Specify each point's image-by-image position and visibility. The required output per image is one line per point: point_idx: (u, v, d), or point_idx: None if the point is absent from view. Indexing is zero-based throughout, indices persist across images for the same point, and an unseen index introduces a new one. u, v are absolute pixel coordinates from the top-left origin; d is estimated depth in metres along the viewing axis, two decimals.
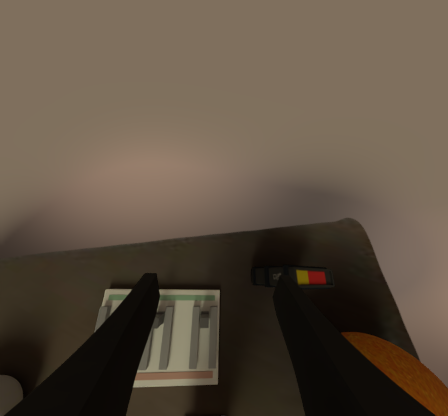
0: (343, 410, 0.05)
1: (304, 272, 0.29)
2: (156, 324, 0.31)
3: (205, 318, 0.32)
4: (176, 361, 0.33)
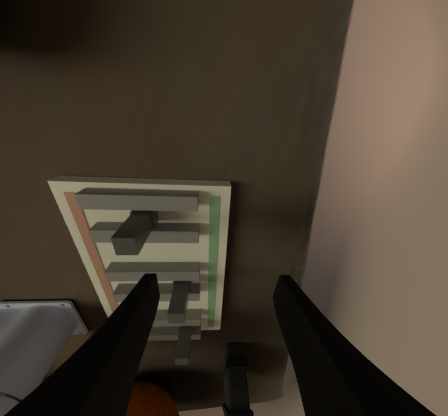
0: (343, 410, 0.05)
1: None
2: (174, 321, 0.17)
3: (187, 361, 0.21)
4: None
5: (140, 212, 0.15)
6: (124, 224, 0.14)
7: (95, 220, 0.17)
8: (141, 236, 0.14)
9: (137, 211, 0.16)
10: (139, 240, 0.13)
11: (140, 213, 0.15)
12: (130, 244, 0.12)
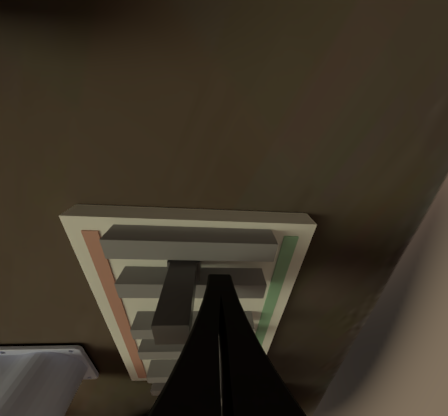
0: (230, 415, 0.05)
1: None
2: None
3: None
4: None
5: (181, 262, 0.11)
6: (165, 289, 0.09)
7: (122, 264, 0.12)
8: (192, 310, 0.09)
9: None
10: (191, 319, 0.08)
11: (182, 264, 0.11)
12: (180, 332, 0.08)
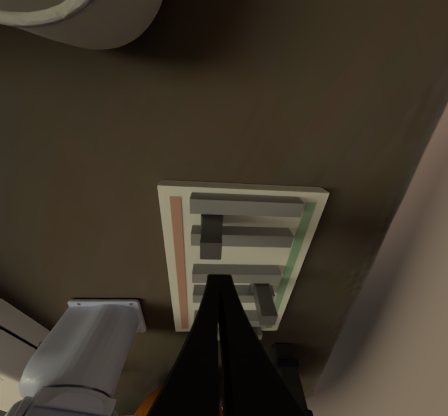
0: (231, 415, 0.05)
1: None
2: (265, 323, 0.18)
3: None
4: None
5: (210, 216, 0.16)
6: (204, 228, 0.14)
7: (191, 223, 0.17)
8: None
9: (207, 215, 0.16)
10: None
11: (211, 217, 0.15)
12: (216, 249, 0.13)
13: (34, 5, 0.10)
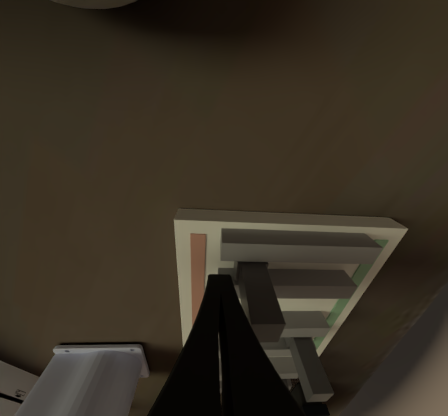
0: (230, 415, 0.05)
1: None
2: (315, 400, 0.13)
3: None
4: None
5: (251, 263, 0.11)
6: (249, 290, 0.09)
7: (216, 266, 0.13)
8: None
9: None
10: None
11: (253, 265, 0.11)
12: (275, 331, 0.08)
13: None
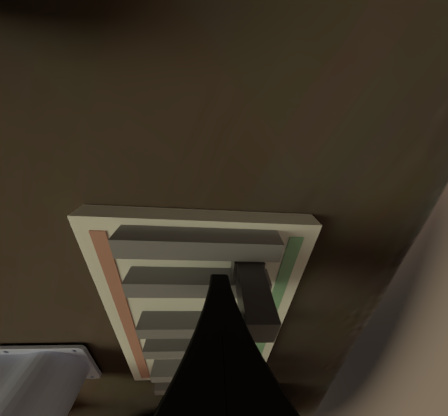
0: None
1: None
2: None
3: None
4: None
5: (248, 263, 0.11)
6: (245, 290, 0.09)
7: (128, 264, 0.12)
8: None
9: None
10: None
11: (250, 265, 0.11)
12: (271, 331, 0.08)
13: None
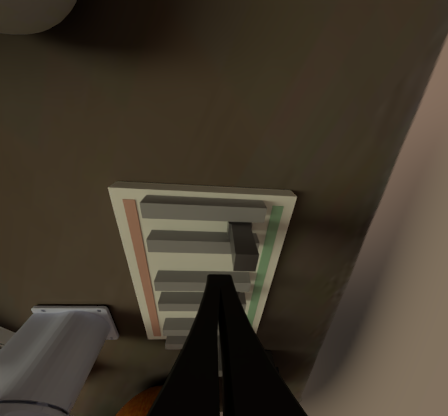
0: (231, 415, 0.05)
1: None
2: None
3: None
4: None
5: (239, 223, 0.15)
6: (235, 238, 0.13)
7: (150, 228, 0.16)
8: None
9: (235, 222, 0.15)
10: None
11: (240, 225, 0.15)
12: (252, 260, 0.12)
13: None
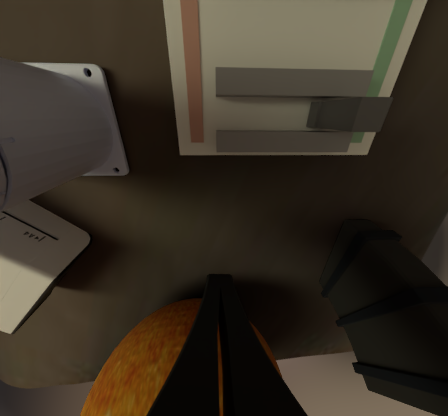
0: (231, 415, 0.05)
1: None
2: None
3: (381, 119, 0.09)
4: (224, 21, 0.11)
5: None
6: None
7: None
8: None
9: None
10: None
11: None
12: None
13: None
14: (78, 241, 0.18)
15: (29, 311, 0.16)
